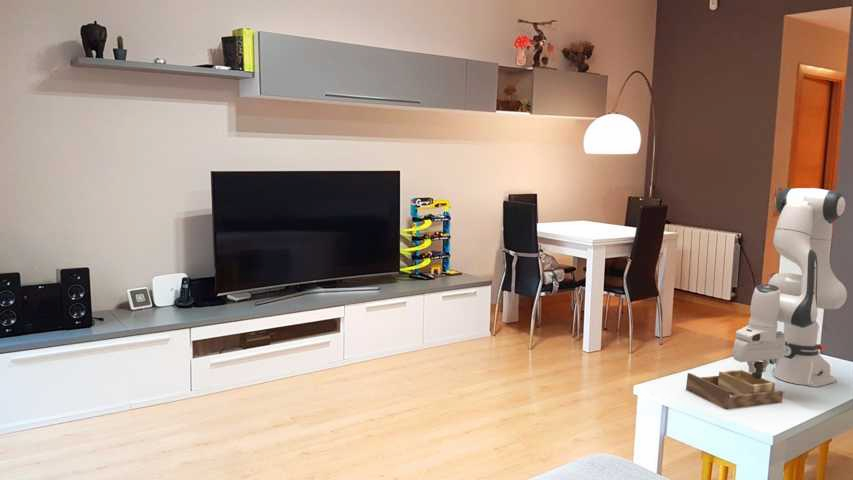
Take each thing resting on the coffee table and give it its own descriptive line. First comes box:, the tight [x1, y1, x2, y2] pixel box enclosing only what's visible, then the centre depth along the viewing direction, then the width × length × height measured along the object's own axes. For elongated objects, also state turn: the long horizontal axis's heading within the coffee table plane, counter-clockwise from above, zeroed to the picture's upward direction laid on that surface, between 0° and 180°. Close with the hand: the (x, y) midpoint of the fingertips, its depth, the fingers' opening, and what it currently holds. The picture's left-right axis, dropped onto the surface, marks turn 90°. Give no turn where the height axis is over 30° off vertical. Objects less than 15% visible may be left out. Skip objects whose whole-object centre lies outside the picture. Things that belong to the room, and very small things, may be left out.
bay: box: [685, 372, 784, 410], centre depth 236 cm, size 24×18×7 cm
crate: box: [718, 360, 776, 396], centre depth 238 cm, size 11×14×11 cm
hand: (757, 372), depth 239 cm, fingers closed on crate, 3 cm apart
